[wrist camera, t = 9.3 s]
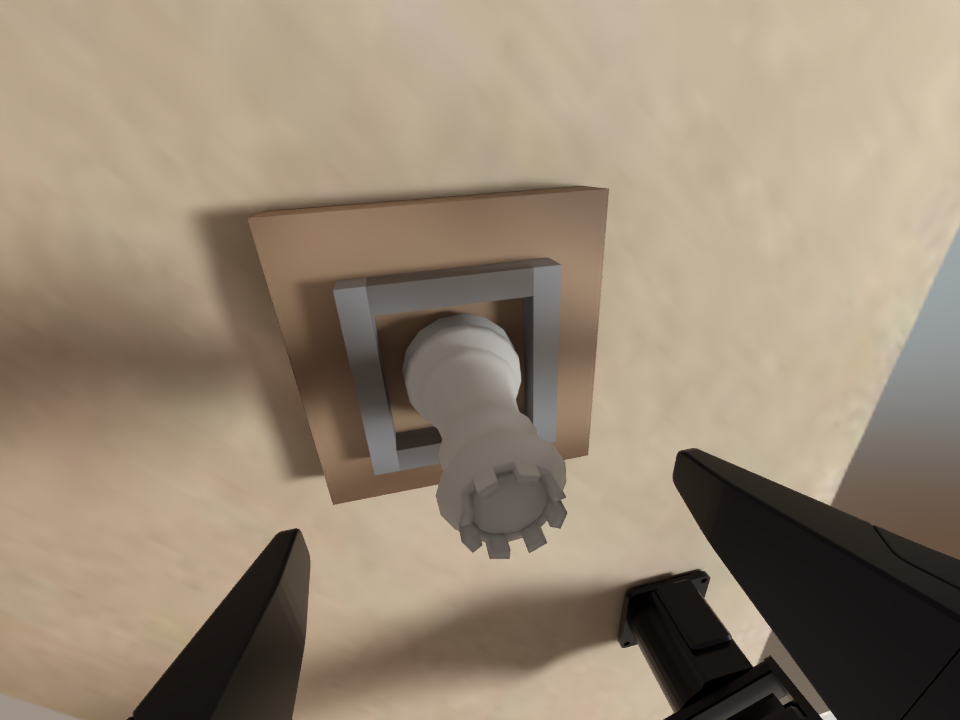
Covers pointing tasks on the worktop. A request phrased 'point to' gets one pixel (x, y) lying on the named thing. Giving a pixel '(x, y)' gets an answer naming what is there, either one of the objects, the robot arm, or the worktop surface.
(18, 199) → the worktop surface
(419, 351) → the rook chess piece
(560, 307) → the plinth
